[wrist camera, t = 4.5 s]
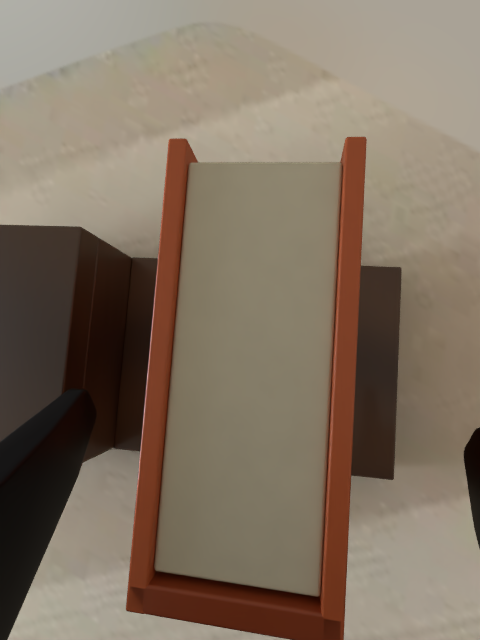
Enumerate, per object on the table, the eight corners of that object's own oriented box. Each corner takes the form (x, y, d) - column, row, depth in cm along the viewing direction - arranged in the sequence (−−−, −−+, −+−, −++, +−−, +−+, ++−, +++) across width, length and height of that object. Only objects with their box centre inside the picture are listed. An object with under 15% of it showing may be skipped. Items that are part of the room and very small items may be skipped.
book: (312, 457, 15) (343, 651, 5) (234, 449, 15) (124, 611, 6) (322, 276, 16) (367, 135, 6) (246, 273, 16) (168, 137, 6)
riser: (382, 465, 16) (430, 526, 11) (5, 425, 19) (-126, 455, 13) (389, 277, 17) (439, 235, 11) (25, 262, 20) (-91, 221, 14)
